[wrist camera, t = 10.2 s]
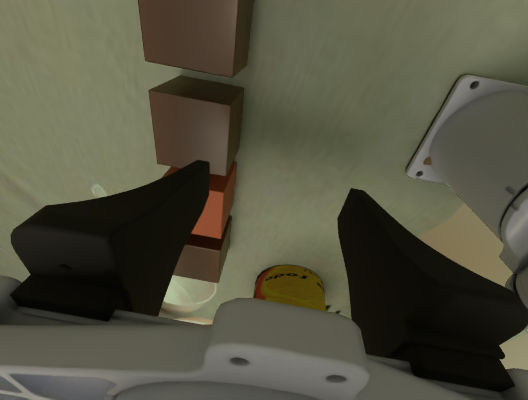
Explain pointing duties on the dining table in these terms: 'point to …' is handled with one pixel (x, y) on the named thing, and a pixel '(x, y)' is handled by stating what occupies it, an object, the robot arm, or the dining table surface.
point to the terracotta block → (215, 203)
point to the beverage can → (291, 287)
